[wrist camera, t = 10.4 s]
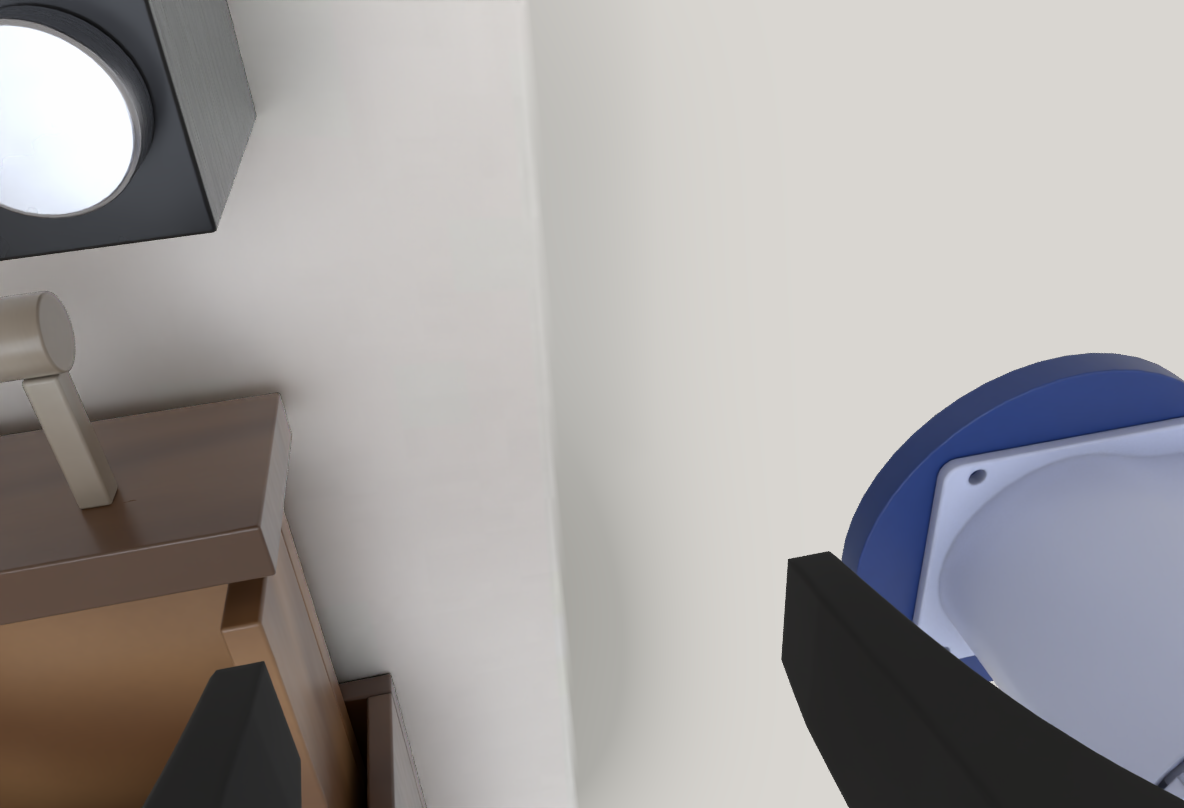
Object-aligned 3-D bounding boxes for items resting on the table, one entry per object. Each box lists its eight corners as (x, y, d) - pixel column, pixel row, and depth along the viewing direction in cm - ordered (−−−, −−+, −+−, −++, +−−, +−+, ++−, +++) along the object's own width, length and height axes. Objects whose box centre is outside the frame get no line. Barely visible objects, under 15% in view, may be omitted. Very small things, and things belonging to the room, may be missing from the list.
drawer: (-418, 293, 17) (-654, 439, 13) (227, 208, 18) (190, 317, 14) (-11, 856, 26) (-75, 1037, 22) (390, 771, 28) (394, 927, 24)
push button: (197, -116, 16) (103, -72, 10) (257, 118, 18) (207, 261, 13) (12, -99, 16) (-193, -44, 10) (96, 137, 18) (-33, 294, 12)
